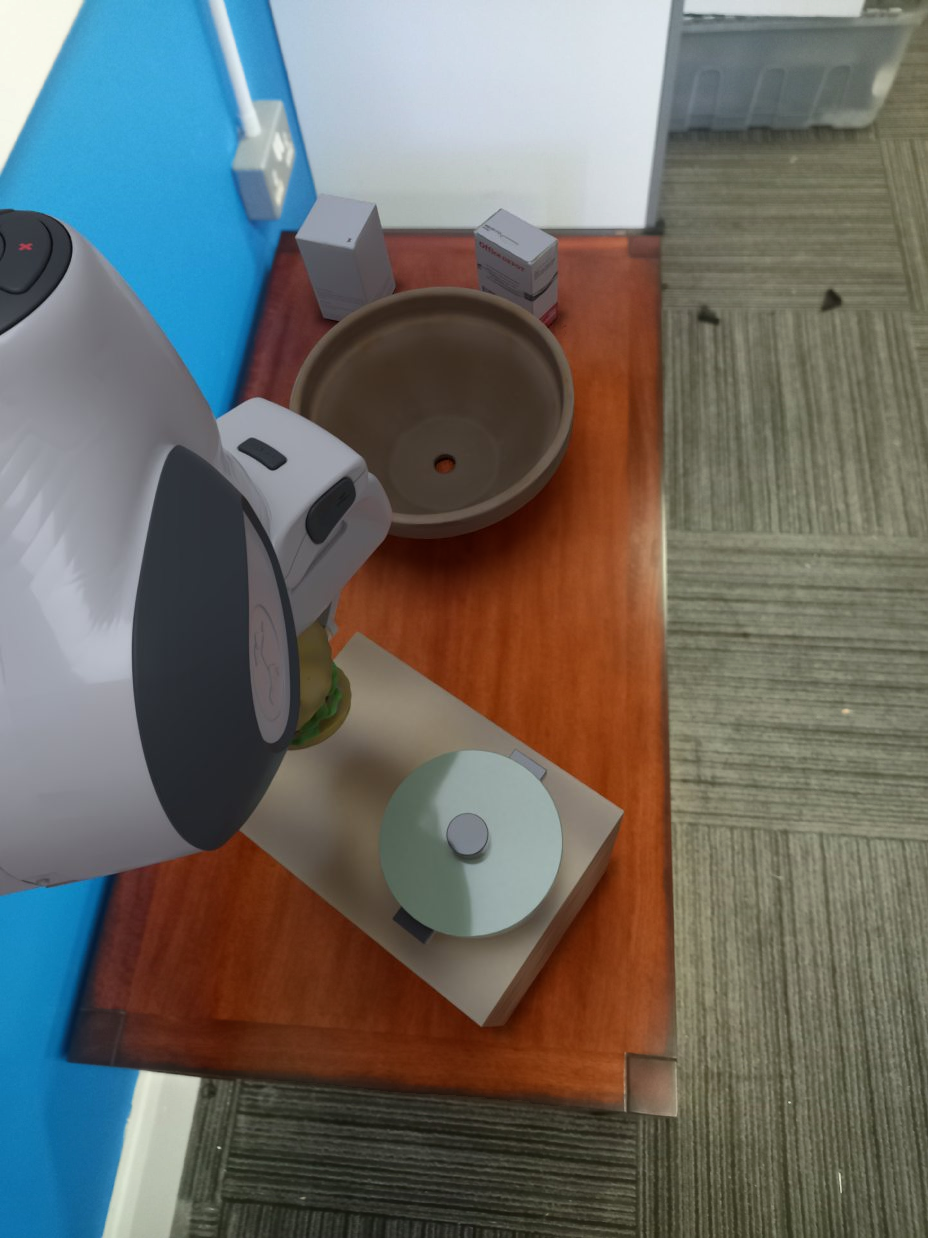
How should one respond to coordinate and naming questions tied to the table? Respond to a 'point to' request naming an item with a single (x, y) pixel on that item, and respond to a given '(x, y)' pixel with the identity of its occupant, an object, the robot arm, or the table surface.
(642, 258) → the table surface
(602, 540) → the table surface
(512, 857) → the pot
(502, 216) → the ink box
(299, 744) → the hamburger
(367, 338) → the flower pot
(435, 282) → the table surface
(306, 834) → the stand
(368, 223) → the white packaging box
